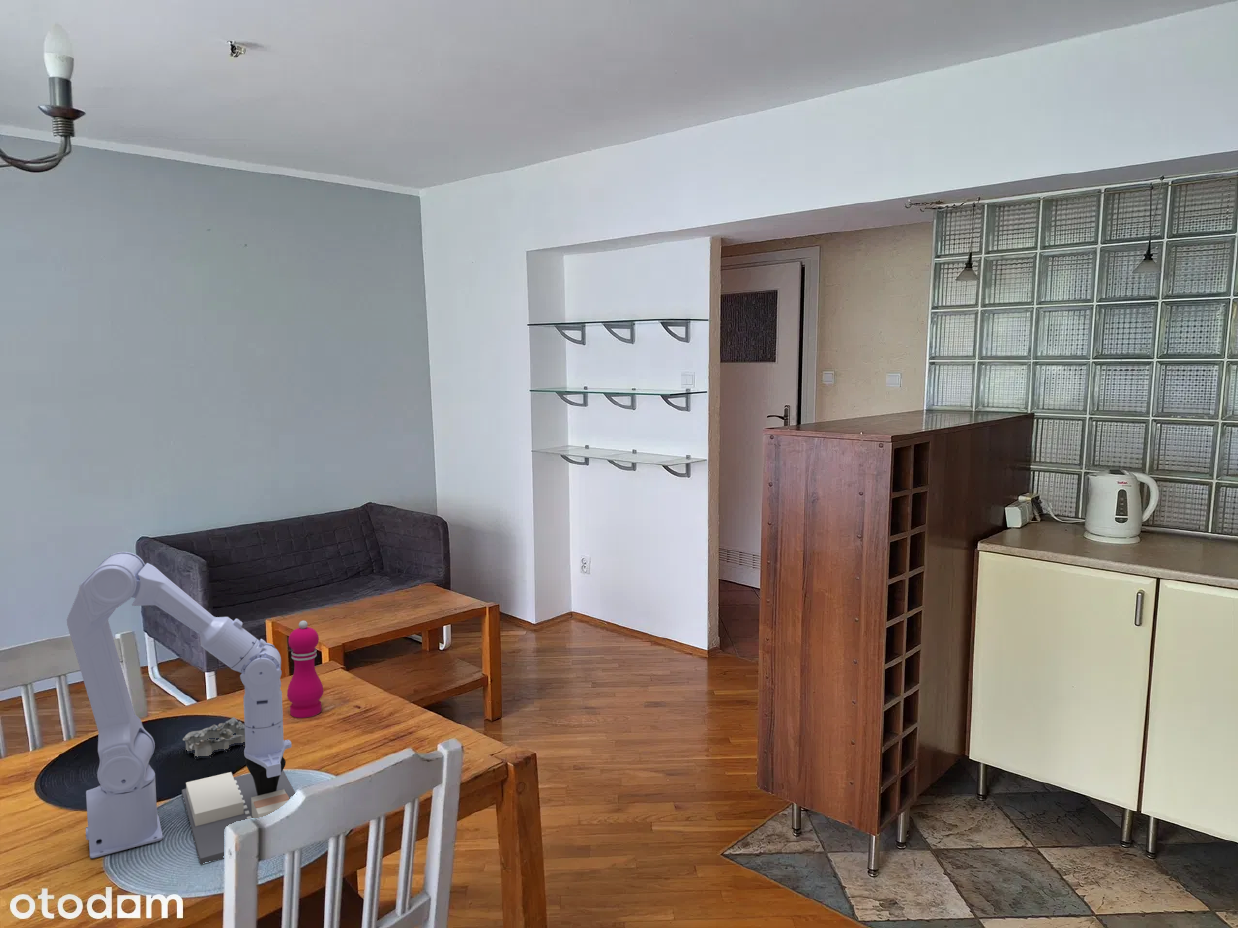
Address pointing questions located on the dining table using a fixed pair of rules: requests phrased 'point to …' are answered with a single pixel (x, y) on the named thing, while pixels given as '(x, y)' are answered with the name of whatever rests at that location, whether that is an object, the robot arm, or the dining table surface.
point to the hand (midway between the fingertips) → (266, 800)
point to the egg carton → (222, 731)
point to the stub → (268, 803)
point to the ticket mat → (216, 829)
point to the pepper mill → (304, 673)
